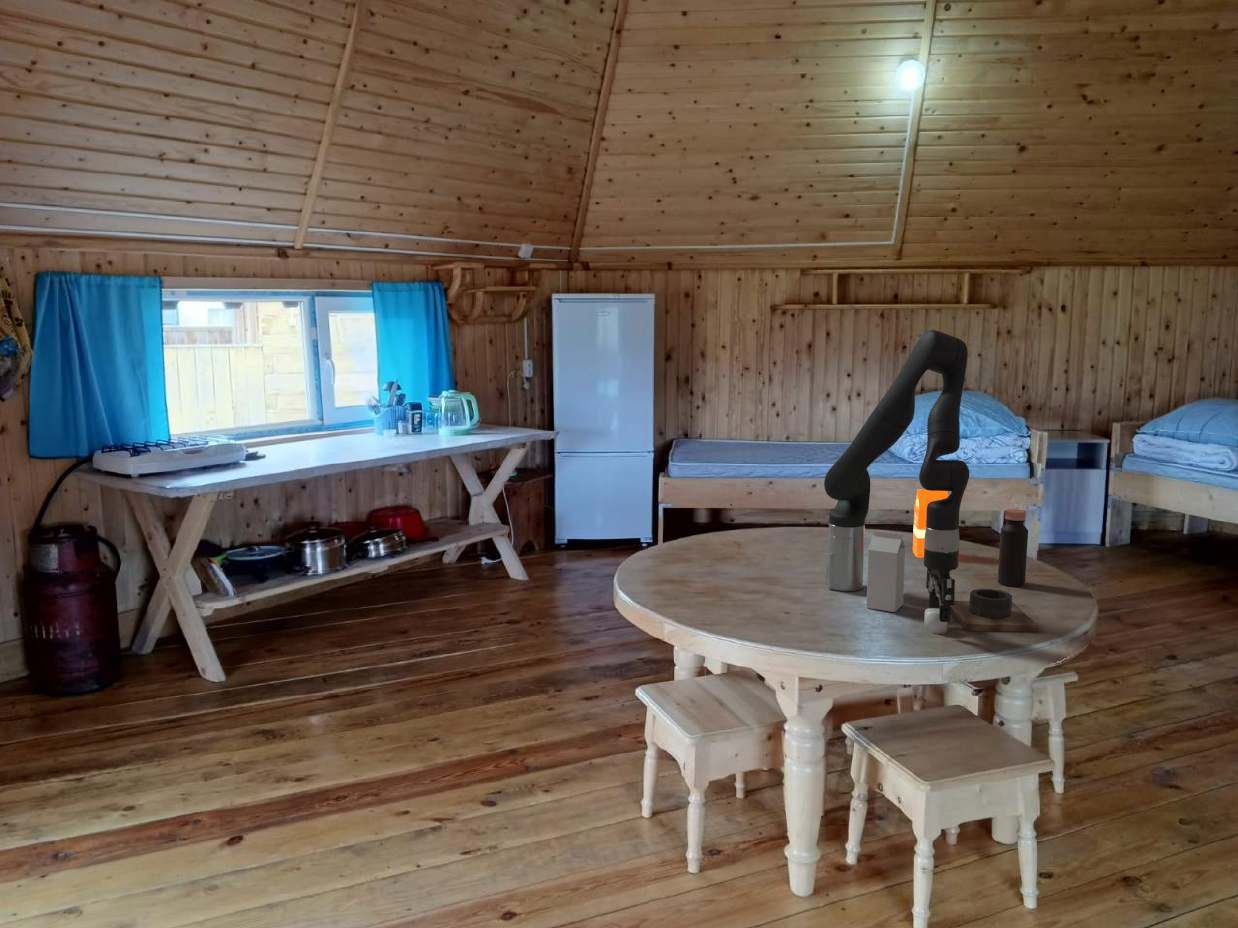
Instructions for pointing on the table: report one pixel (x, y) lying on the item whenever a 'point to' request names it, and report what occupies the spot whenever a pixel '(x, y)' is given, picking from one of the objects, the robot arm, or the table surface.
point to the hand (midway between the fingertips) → (939, 615)
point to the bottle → (1013, 549)
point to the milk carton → (885, 571)
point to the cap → (934, 622)
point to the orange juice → (923, 517)
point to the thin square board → (991, 612)
